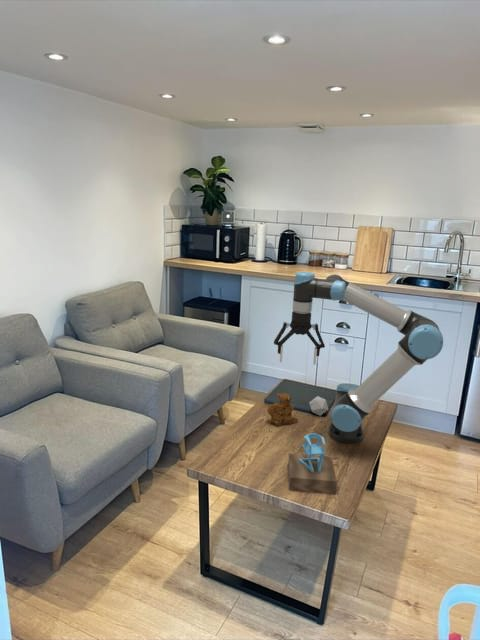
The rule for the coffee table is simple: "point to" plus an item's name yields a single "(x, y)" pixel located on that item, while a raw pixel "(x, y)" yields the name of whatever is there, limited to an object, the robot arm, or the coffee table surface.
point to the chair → (313, 451)
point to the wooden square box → (311, 475)
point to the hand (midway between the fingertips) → (297, 362)
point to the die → (318, 405)
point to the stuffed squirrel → (282, 410)
